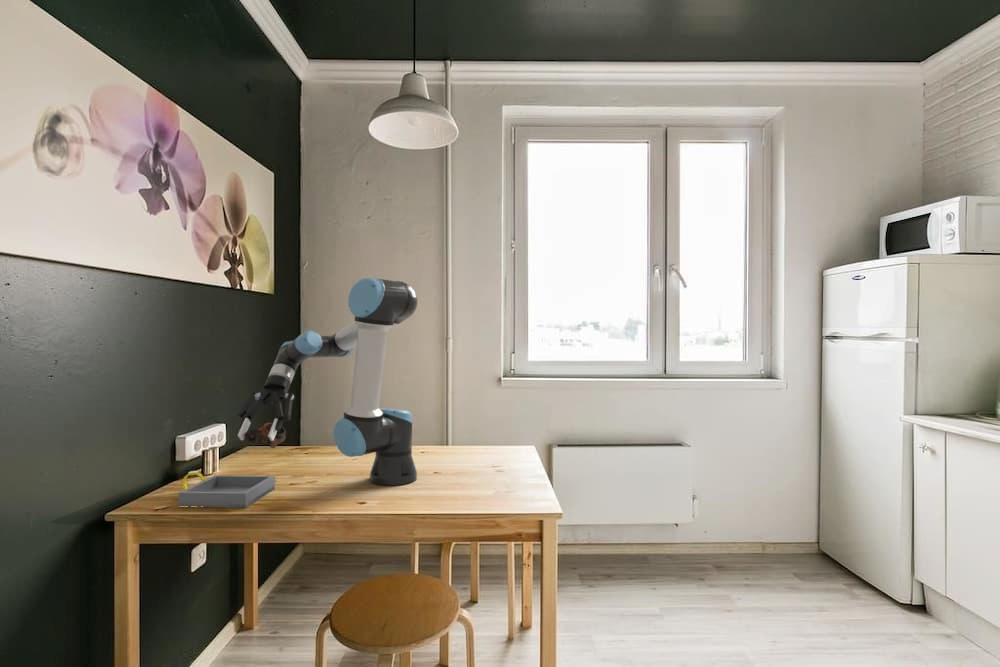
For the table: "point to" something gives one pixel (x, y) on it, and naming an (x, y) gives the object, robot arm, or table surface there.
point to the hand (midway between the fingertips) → (255, 438)
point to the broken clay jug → (264, 431)
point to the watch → (192, 474)
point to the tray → (227, 491)
